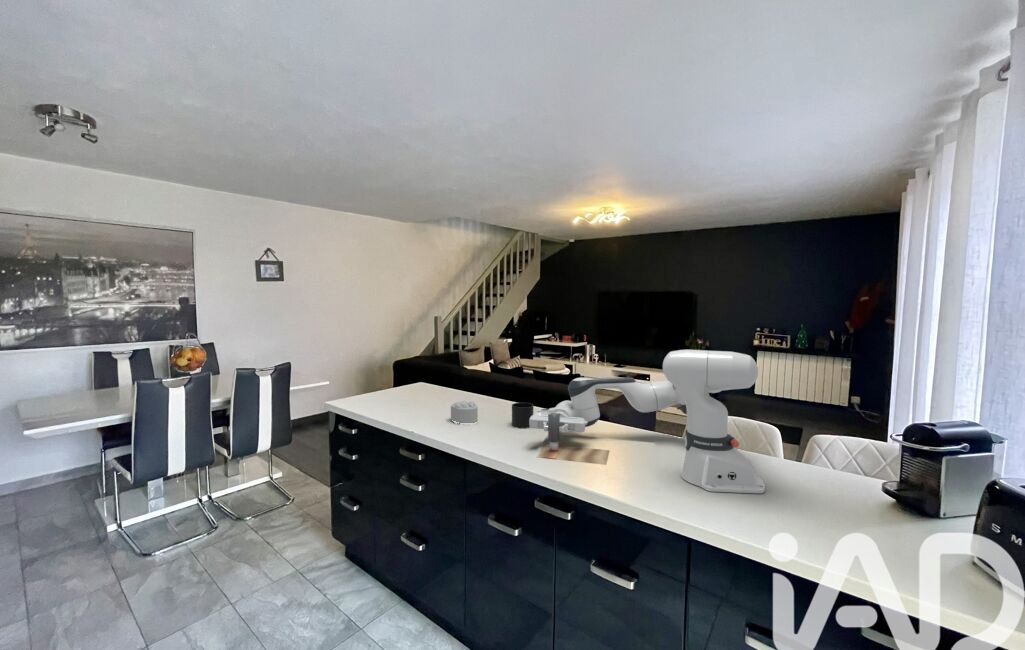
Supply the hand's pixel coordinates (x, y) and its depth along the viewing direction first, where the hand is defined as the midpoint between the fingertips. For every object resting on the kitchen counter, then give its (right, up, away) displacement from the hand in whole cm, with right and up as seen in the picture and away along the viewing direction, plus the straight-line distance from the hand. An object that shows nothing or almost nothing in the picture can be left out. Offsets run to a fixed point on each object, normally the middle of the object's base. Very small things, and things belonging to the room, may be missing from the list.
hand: (553, 429), depth 147 cm
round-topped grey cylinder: (0, -7, +1) cm, 7 cm away
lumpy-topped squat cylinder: (-35, -8, +45) cm, 58 cm away
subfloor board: (+7, -10, -1) cm, 12 cm away
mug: (-9, -8, +40) cm, 41 cm away
